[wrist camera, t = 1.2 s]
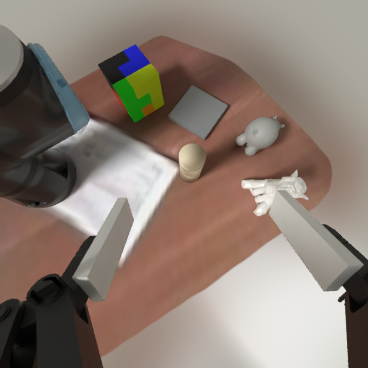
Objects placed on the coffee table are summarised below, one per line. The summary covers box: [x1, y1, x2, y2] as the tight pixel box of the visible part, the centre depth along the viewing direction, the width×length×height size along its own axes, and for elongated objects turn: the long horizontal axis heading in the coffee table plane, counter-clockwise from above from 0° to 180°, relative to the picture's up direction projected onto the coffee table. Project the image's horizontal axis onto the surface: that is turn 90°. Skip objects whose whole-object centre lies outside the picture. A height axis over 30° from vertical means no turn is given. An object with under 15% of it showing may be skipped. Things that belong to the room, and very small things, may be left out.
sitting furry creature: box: [241, 169, 309, 216], centre depth 32 cm, size 10×9×12 cm
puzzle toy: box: [98, 45, 164, 122], centre depth 39 cm, size 10×10×10 cm
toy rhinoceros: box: [236, 115, 285, 156], centre depth 38 cm, size 7×12×8 cm, turn 123°
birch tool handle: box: [179, 144, 206, 183], centre depth 33 cm, size 5×5×12 cm
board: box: [168, 85, 228, 140], centre depth 42 cm, size 12×12×1 cm
